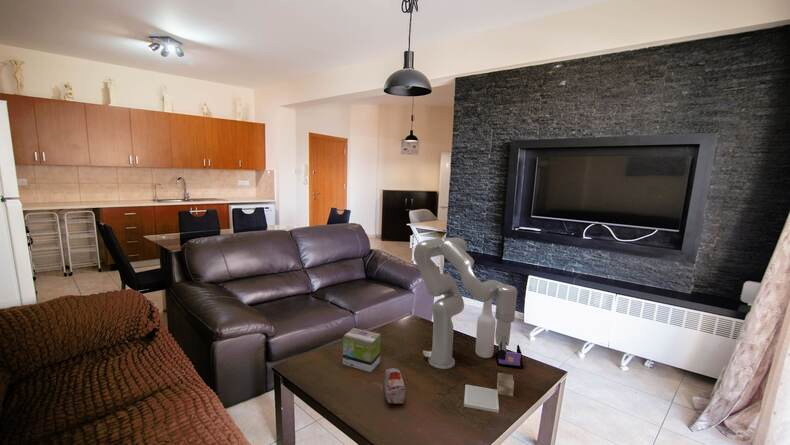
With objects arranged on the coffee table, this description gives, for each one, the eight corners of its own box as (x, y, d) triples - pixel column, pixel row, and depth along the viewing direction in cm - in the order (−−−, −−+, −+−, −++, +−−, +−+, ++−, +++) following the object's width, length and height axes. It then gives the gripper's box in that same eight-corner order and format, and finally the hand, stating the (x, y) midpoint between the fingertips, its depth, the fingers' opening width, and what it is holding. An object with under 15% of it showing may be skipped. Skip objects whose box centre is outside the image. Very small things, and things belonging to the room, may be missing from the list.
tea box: (342, 365, 160) (342, 335, 158) (352, 355, 170) (353, 326, 168) (371, 373, 155) (372, 342, 153) (380, 362, 164) (381, 332, 162)
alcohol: (471, 352, 176) (475, 296, 172) (482, 348, 181) (486, 292, 177) (485, 360, 169) (489, 301, 165) (496, 355, 174) (501, 297, 170)
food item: (406, 405, 134) (407, 381, 132) (386, 407, 132) (387, 383, 131) (399, 385, 147) (400, 363, 146) (381, 386, 145) (381, 364, 144)
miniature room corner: (523, 369, 163) (524, 355, 162) (497, 365, 165) (498, 352, 164) (519, 356, 174) (520, 343, 174) (495, 353, 177) (495, 340, 176)
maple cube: (497, 372, 148) (496, 385, 149) (498, 380, 142) (497, 394, 143) (512, 374, 146) (511, 388, 147) (514, 382, 141) (512, 396, 141)
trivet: (463, 406, 134) (464, 403, 134) (465, 387, 147) (465, 384, 146) (498, 412, 131) (499, 409, 131) (497, 392, 144) (497, 389, 143)
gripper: (494, 307, 150) (491, 346, 153) (496, 321, 135) (492, 365, 137) (512, 309, 148) (508, 349, 151) (516, 324, 133) (512, 369, 136)
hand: (501, 357), depth 144 cm, fingers closed
